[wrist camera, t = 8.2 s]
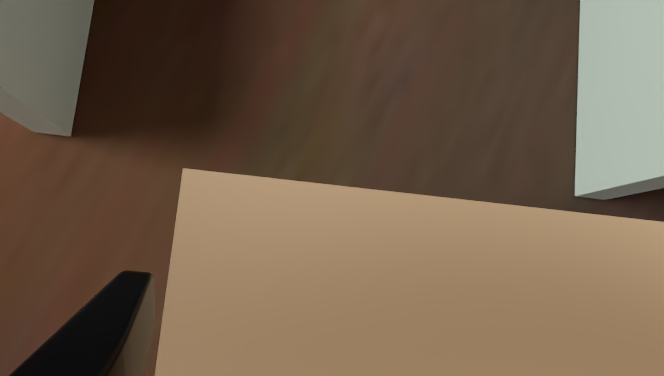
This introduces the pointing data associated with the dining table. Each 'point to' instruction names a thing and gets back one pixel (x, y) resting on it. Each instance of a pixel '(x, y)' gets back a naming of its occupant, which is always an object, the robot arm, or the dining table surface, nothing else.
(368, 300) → the maple block
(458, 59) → the dining table surface
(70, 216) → the dining table surface
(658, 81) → the open-side box
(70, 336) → the robot arm
